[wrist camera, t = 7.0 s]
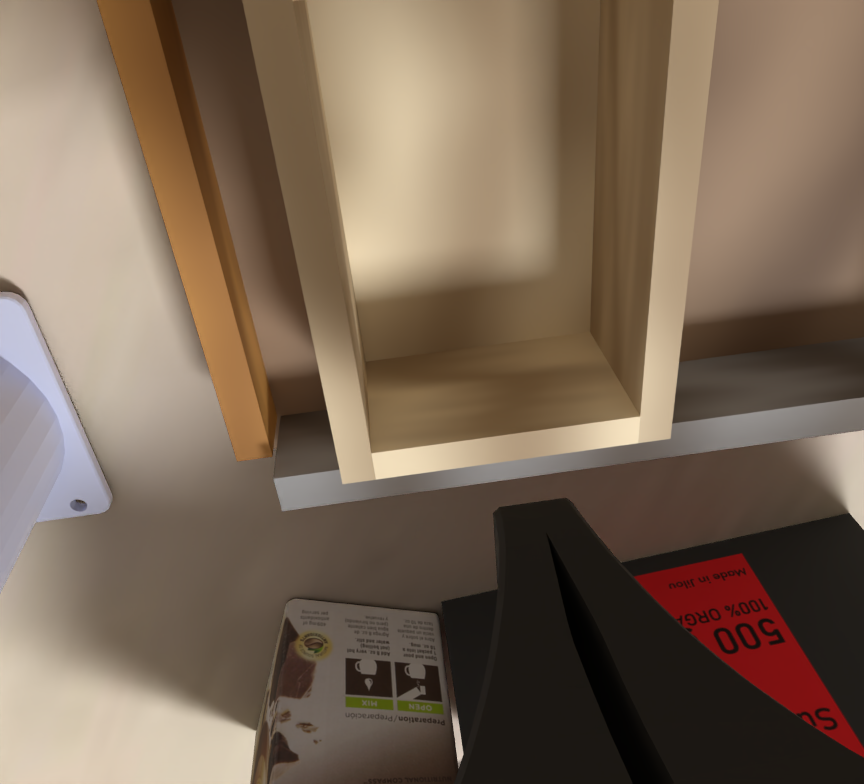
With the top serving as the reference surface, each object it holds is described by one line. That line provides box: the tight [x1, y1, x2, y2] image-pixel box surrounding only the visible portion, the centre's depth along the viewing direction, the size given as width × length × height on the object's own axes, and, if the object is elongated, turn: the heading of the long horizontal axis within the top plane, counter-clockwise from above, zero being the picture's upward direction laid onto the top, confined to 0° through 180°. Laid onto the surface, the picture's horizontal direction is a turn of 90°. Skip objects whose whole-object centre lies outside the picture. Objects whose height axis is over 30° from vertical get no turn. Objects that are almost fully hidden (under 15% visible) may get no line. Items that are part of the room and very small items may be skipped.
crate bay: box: [97, 0, 864, 511], centre depth 18 cm, size 22×16×6 cm
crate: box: [242, 0, 719, 484], centre depth 17 cm, size 8×11×5 cm
